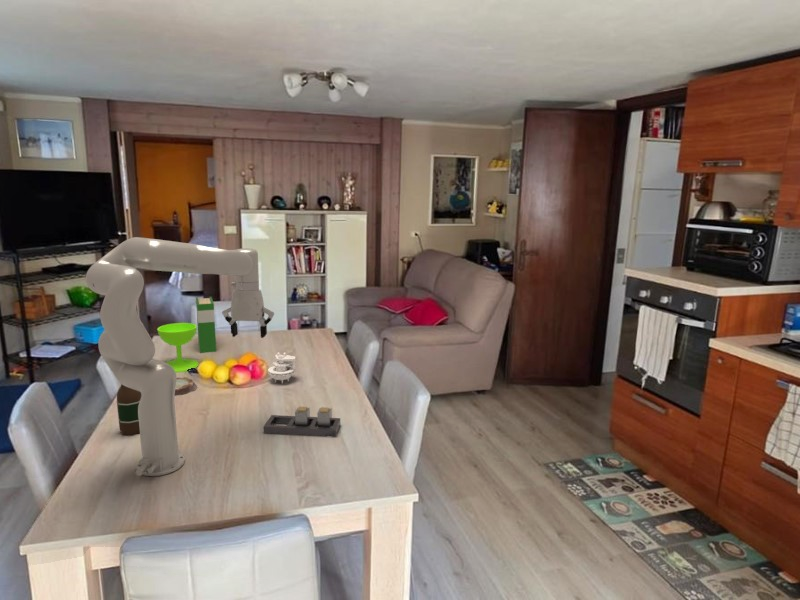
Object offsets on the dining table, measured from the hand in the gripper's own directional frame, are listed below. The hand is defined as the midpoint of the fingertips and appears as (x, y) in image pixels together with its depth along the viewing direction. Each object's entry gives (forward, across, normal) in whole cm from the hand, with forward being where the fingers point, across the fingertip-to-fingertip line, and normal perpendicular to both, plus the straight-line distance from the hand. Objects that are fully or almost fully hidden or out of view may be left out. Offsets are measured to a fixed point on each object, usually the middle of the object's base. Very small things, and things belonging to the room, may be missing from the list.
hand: (249, 336), depth 175 cm
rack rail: (+30, +19, -5) cm, 36 cm away
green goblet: (+31, -50, +50) cm, 77 cm away
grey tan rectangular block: (+30, +26, -5) cm, 41 cm away
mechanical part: (+31, 0, +38) cm, 49 cm away
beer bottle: (+31, -36, -12) cm, 49 cm away
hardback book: (+31, -50, +79) cm, 98 cm away
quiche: (+31, -39, +25) cm, 56 cm away
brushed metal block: (+30, +19, -5) cm, 36 cm away
